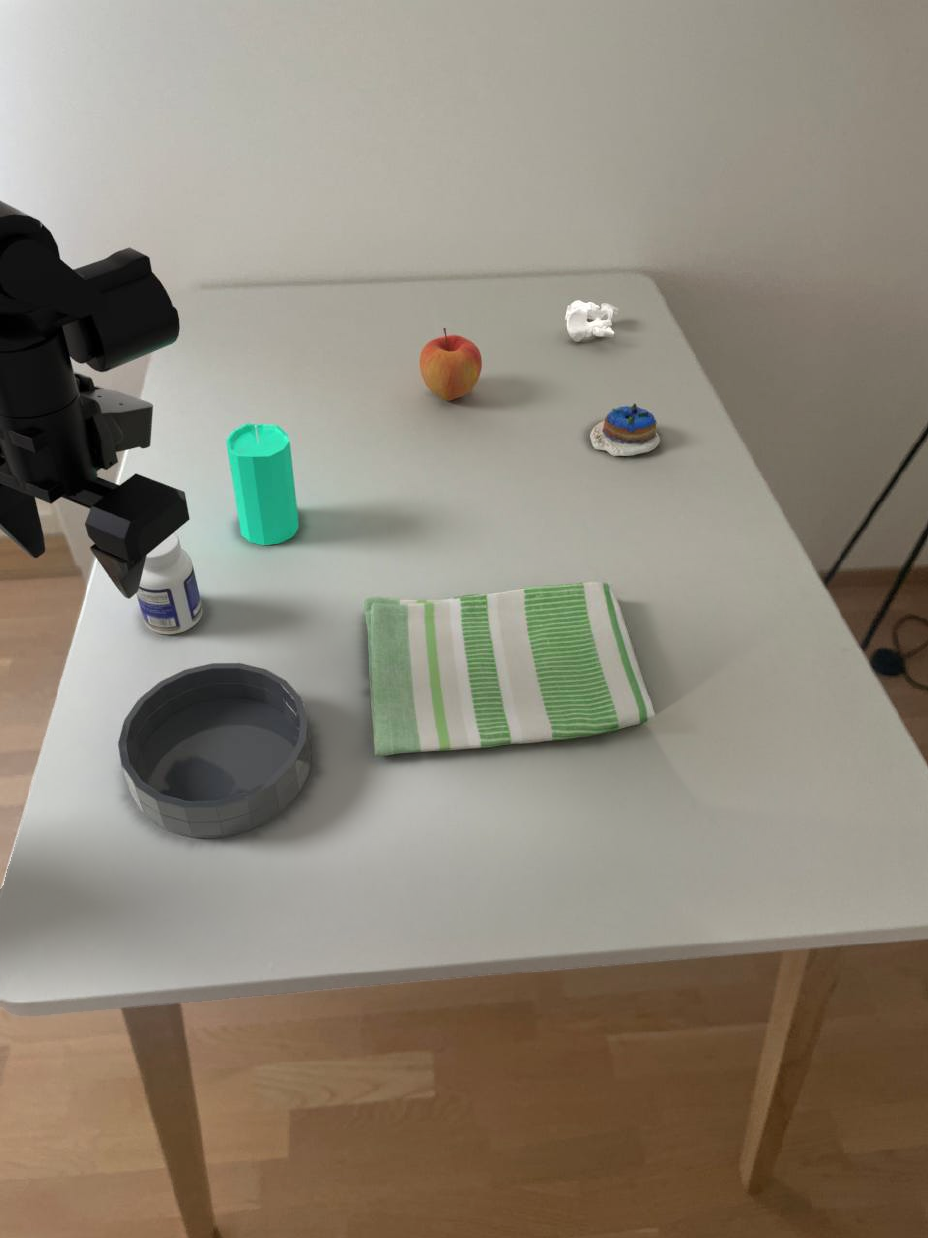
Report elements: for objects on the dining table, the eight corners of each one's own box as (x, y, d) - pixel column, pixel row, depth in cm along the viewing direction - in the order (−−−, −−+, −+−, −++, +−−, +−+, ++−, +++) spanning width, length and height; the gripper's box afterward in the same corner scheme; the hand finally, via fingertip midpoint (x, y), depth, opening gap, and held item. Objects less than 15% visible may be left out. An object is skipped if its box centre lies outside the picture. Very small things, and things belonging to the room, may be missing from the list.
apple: (444, 417, 115) (446, 356, 109) (407, 390, 119) (407, 330, 113) (492, 398, 118) (496, 337, 112) (454, 372, 122) (456, 312, 116)
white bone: (616, 323, 125) (565, 312, 125) (609, 353, 128) (559, 342, 128) (622, 295, 130) (573, 284, 130) (614, 323, 133) (567, 313, 134)
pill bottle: (182, 588, 92) (165, 514, 86) (214, 616, 90) (199, 542, 84) (132, 614, 90) (111, 540, 83) (164, 645, 87) (144, 570, 81)
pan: (142, 861, 72) (131, 830, 69) (119, 718, 81) (109, 686, 78) (330, 808, 75) (327, 777, 73) (288, 678, 85) (284, 646, 82)
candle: (294, 546, 97) (283, 445, 89) (234, 544, 97) (217, 442, 89) (302, 508, 101) (292, 409, 93) (245, 506, 101) (229, 406, 93)
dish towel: (363, 609, 91) (362, 587, 89) (607, 593, 94) (611, 572, 92) (375, 762, 79) (374, 741, 77) (656, 739, 81) (662, 718, 79)
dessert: (660, 417, 115) (664, 397, 109) (657, 471, 114) (660, 453, 108) (592, 414, 116) (592, 393, 110) (588, 467, 115) (588, 449, 109)
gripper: (224, 380, 67) (247, 555, 77) (18, 311, 72) (67, 484, 83) (111, 460, 59) (154, 642, 70) (-108, 376, 65) (-37, 556, 76)
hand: (84, 574), depth 75 cm, fingers open, 9 cm apart
